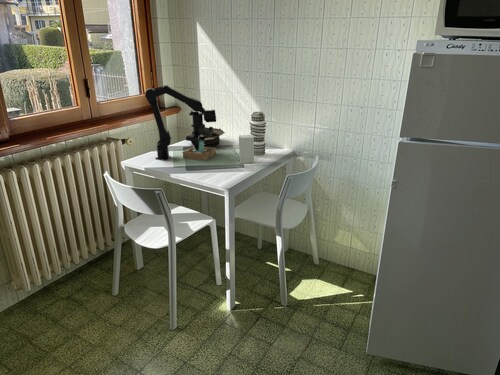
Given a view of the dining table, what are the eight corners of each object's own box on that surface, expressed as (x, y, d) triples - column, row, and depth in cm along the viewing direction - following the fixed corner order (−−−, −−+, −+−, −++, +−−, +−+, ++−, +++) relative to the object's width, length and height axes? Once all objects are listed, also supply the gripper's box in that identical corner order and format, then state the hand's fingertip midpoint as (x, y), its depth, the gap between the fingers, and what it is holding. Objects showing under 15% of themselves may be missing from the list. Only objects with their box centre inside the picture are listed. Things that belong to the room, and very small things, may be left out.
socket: (203, 156, 221) (202, 151, 220) (192, 155, 224) (191, 150, 223) (207, 154, 225) (207, 149, 224) (196, 153, 228) (196, 148, 227)
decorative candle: (263, 158, 220) (263, 114, 210) (248, 156, 222) (247, 113, 213) (267, 153, 228) (268, 111, 218) (253, 152, 230) (252, 110, 221)
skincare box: (254, 160, 216) (253, 134, 211) (254, 163, 211) (254, 137, 205) (239, 160, 216) (238, 134, 211) (239, 163, 211) (238, 137, 205)
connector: (200, 152, 221) (200, 140, 219) (194, 151, 223) (194, 140, 220) (204, 150, 225) (203, 139, 222) (198, 150, 226) (197, 138, 223)
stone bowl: (231, 142, 251) (230, 128, 247) (208, 154, 232) (207, 140, 228) (201, 137, 263) (200, 123, 259) (177, 148, 244) (175, 134, 240)
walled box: (204, 160, 216) (203, 154, 215) (183, 157, 221) (182, 151, 220) (216, 153, 228) (215, 148, 227) (195, 151, 233) (195, 145, 232)
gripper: (201, 127, 206) (203, 155, 212) (218, 120, 222) (219, 146, 228) (184, 125, 211) (186, 153, 216) (201, 119, 226) (202, 144, 232)
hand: (199, 149), depth 223 cm, fingers closed on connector, 4 cm apart
